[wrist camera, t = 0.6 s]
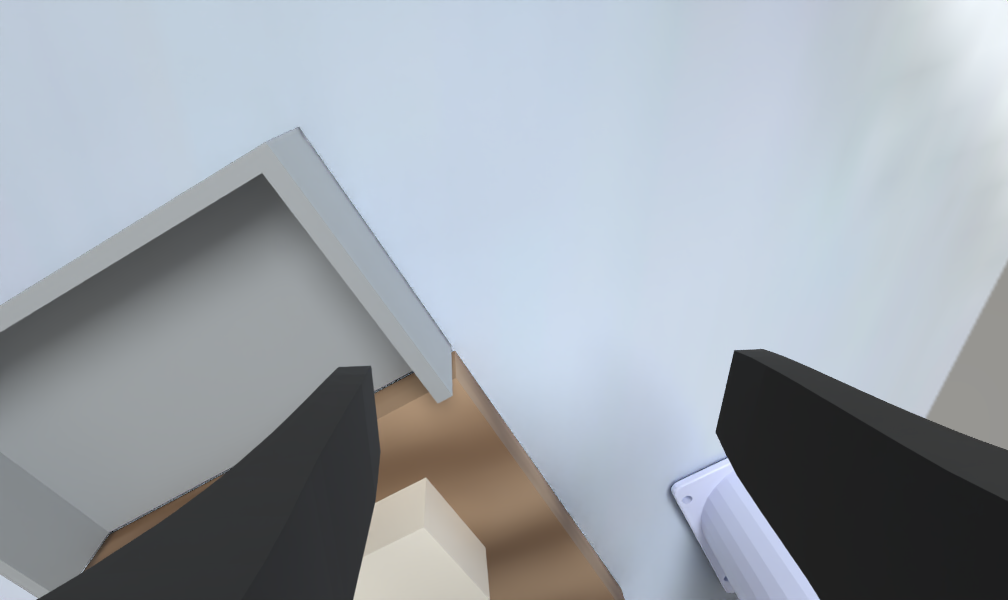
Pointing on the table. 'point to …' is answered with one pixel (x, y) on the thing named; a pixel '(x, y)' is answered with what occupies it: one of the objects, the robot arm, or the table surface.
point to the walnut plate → (467, 491)
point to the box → (189, 351)
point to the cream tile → (421, 551)
